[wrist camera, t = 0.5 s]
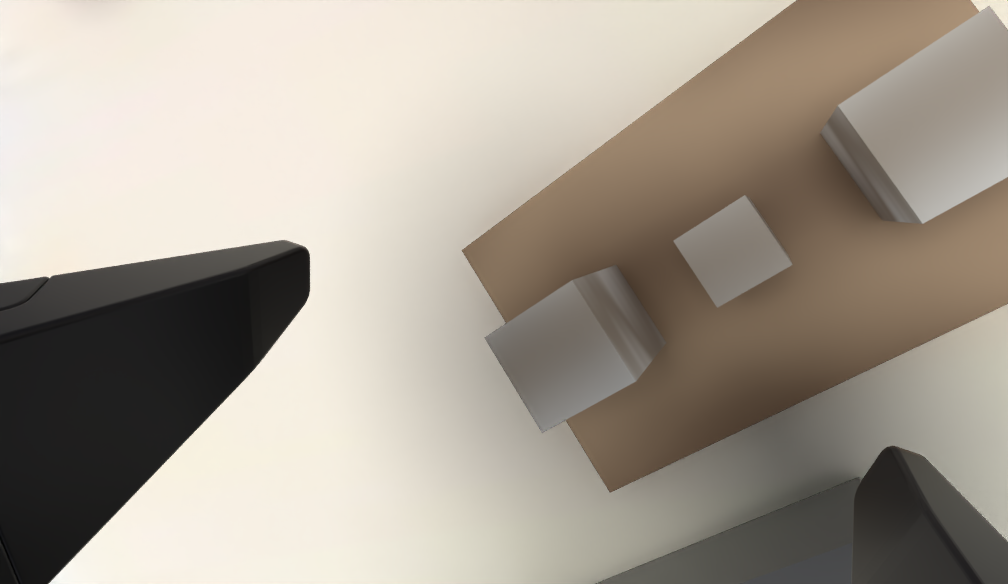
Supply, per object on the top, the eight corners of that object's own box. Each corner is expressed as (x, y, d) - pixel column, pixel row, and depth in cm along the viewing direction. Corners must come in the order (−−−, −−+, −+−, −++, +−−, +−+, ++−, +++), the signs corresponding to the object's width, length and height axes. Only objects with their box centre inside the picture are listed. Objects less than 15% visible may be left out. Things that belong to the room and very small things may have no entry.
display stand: (1118, 233, 16) (1314, 246, 11) (619, 475, 23) (567, 569, 17) (896, -60, 18) (961, -197, 12) (479, 248, 24) (383, 260, 18)
